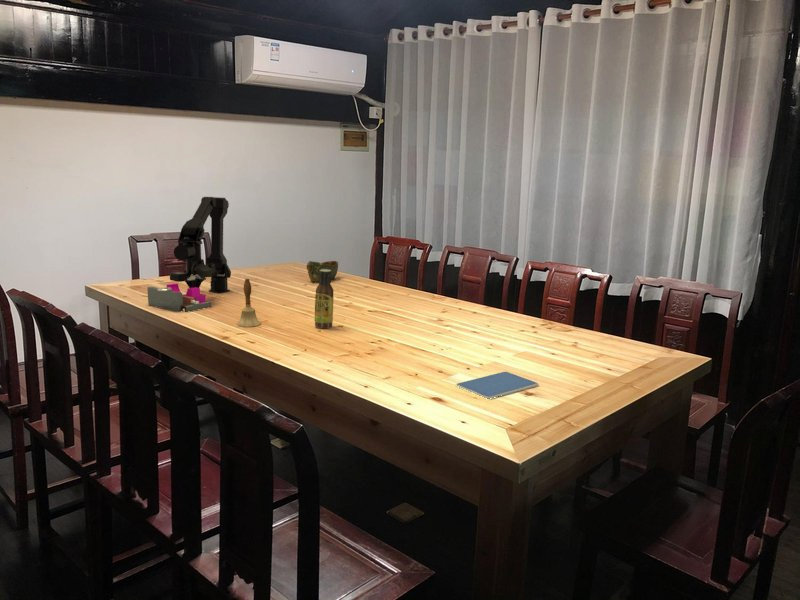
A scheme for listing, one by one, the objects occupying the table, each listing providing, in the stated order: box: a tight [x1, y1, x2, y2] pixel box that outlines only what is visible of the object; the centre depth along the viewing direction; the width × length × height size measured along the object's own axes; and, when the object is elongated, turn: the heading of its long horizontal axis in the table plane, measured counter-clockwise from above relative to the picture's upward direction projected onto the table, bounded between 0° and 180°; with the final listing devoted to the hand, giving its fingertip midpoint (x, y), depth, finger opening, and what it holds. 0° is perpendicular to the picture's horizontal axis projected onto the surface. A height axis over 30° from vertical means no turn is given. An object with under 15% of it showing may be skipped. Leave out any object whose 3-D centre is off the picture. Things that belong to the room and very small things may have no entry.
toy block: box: [166, 282, 207, 303], centre depth 251 cm, size 15×6×8 cm, turn 56°
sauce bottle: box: [314, 269, 335, 329], centre depth 222 cm, size 6×6×20 cm
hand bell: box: [236, 278, 262, 328], centre depth 223 cm, size 8×8×16 cm
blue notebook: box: [455, 371, 539, 399], centre depth 170 cm, size 19×13×1 cm, turn 128°
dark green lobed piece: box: [306, 260, 339, 284], centre depth 308 cm, size 13×20×10 cm, turn 123°
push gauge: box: [147, 286, 212, 313], centre depth 248 cm, size 15×22×8 cm
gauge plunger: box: [182, 295, 199, 307], centre depth 248 cm, size 2×20×4 cm, turn 56°
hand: (195, 296), depth 255 cm, fingers closed
